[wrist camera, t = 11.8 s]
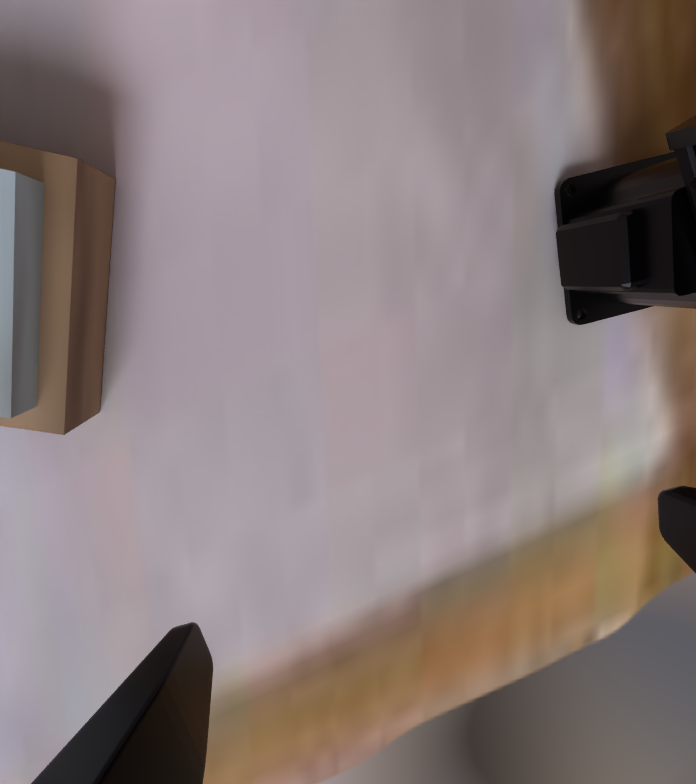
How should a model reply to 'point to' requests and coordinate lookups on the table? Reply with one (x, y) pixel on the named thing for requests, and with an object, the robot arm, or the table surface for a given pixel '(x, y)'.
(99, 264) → the stepped pedestal base
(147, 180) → the table surface
